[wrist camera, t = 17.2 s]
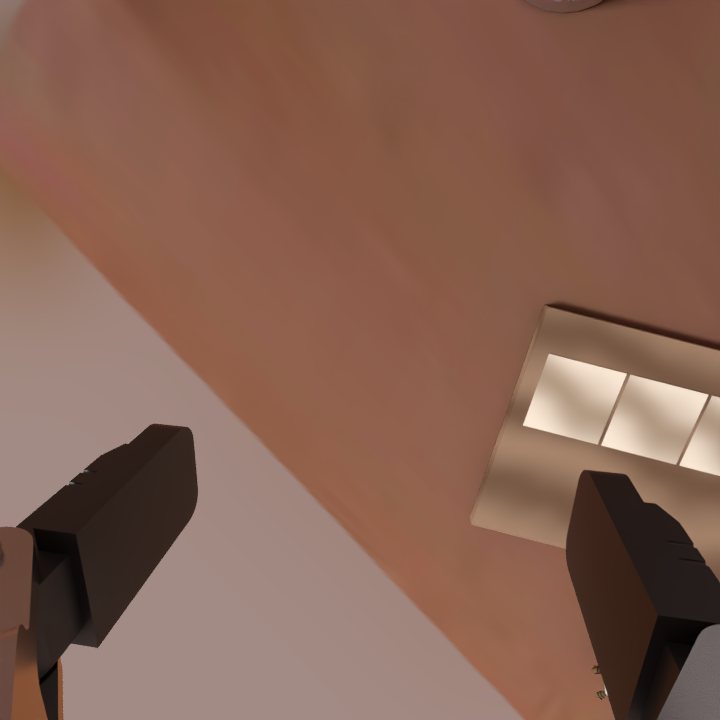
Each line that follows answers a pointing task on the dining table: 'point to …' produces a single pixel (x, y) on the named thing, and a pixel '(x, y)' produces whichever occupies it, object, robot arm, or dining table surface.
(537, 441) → the game board
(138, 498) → the robot arm
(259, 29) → the dining table surface
